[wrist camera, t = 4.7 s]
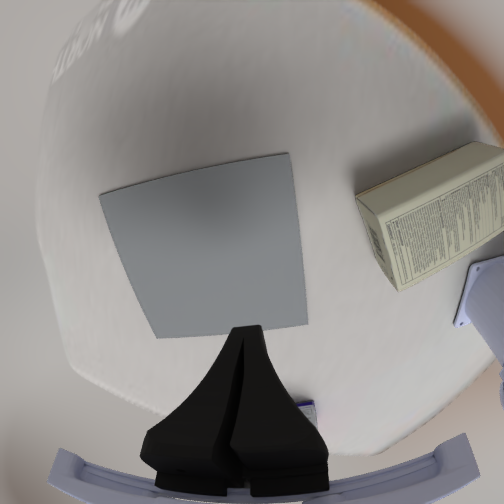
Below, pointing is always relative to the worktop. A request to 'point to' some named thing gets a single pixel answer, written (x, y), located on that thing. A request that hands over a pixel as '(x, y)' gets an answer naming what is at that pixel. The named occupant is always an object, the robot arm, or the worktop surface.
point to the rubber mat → (213, 248)
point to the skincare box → (435, 213)
